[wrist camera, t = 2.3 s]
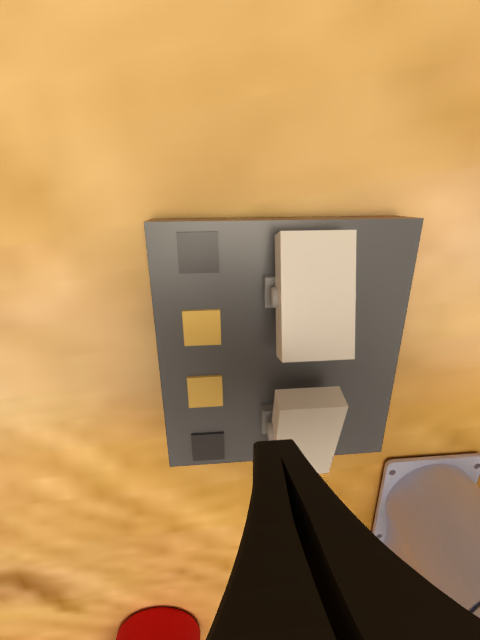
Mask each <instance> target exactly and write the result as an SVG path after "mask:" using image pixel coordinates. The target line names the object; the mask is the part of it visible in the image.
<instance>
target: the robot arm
mask: <svg viewBox="0 0 480 640" xmlns="http://www.w3.org/2000/svg"><path fill="white" fill-rule="evenodd" d="M391 470H392V471H391ZM479 475H480V453H471V454H457V455H443V456H430V457H416V458H402V459H391V460H388V461H387V462H386V463H385V467H384V472H383V478H382V483H381V488H380V493H379V498H378V504H377V509H376V514H375V519H374V525H373V530H372V532H371V531H370V530H369V529H368V528H367V527H366V526H365V525H364V524H363V523H362V522H361V521H360V520H359V519H358V518H357V517H356V516H355V515H354V514H353V513H352V512H351V511H350V510H349V509H348V508H347V507H346V505H345V504H344V503H343V502H342V501H341V500H340V499H339V498H338V497H337V495H336V494H335V493H334V492H333V491H332V490H331V488H330V487H329V486H328V485H327V484H326V483H325V481H324V480H323V479H322V478H321V477H320V475H319V474H318V473H317V472H316V470H315V469H314V468H313V466H312V465H311V464H310V462H309V461H308V460H307V458H306V457H305V456H304V454H303V453H302V452H301V450H300V449H299V447H298V446H297V444H296V443H295V442H294V441H293V440H292V439H285V440H270V441H257V442H255V443H254V444H253V488H252V495H251V500H250V505H249V510H248V515H247V520H246V524H245V528H244V532H243V536H242V539H241V543H240V546H239V550H238V553H237V556H236V560H235V563H234V566H233V569H232V572H231V575H230V578H229V581H228V584H227V587H226V590H225V592H224V595H223V597H222V600H221V603H220V605H219V608H218V611H217V613H216V616H215V618H214V621H213V624H212V626H211V628H210V631H209V633H208V636H207V638H206V640H480V488H479V487H478V486H477V481H478V478H479Z"/></svg>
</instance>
